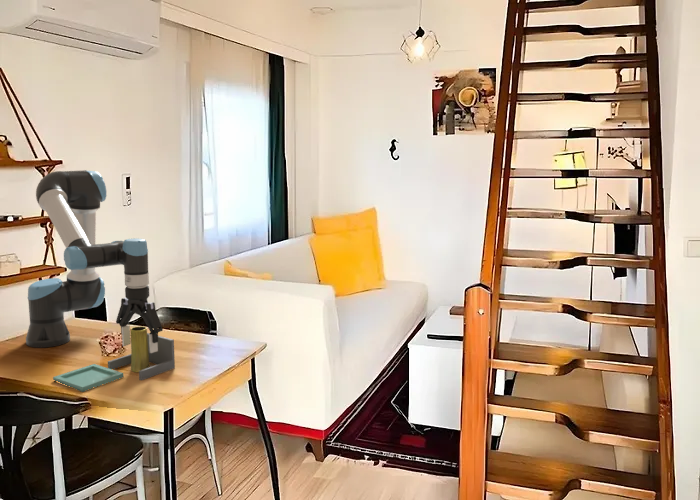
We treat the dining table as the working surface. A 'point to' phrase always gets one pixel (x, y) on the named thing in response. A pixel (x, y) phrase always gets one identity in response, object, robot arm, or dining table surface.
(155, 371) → the dock
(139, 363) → the vase
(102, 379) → the tray
